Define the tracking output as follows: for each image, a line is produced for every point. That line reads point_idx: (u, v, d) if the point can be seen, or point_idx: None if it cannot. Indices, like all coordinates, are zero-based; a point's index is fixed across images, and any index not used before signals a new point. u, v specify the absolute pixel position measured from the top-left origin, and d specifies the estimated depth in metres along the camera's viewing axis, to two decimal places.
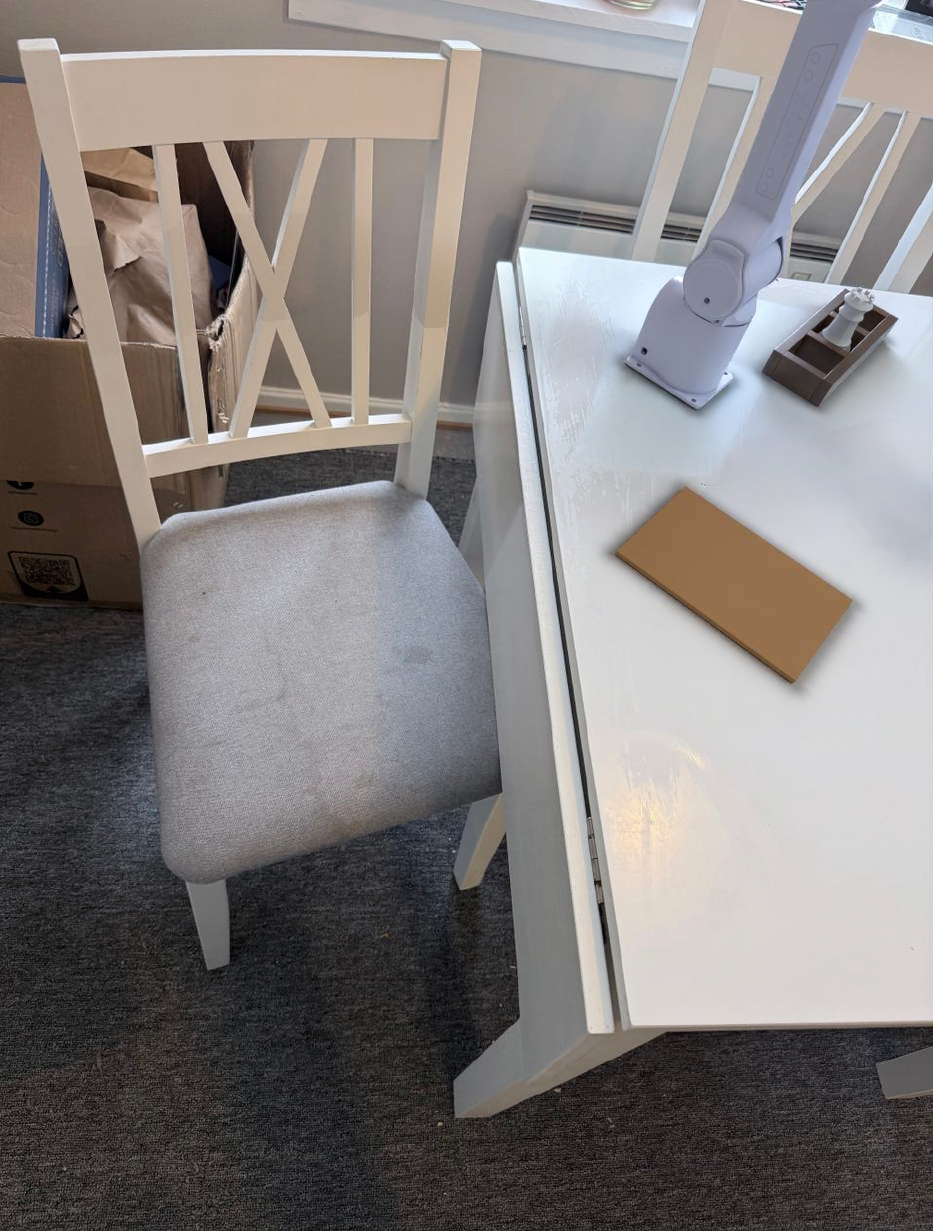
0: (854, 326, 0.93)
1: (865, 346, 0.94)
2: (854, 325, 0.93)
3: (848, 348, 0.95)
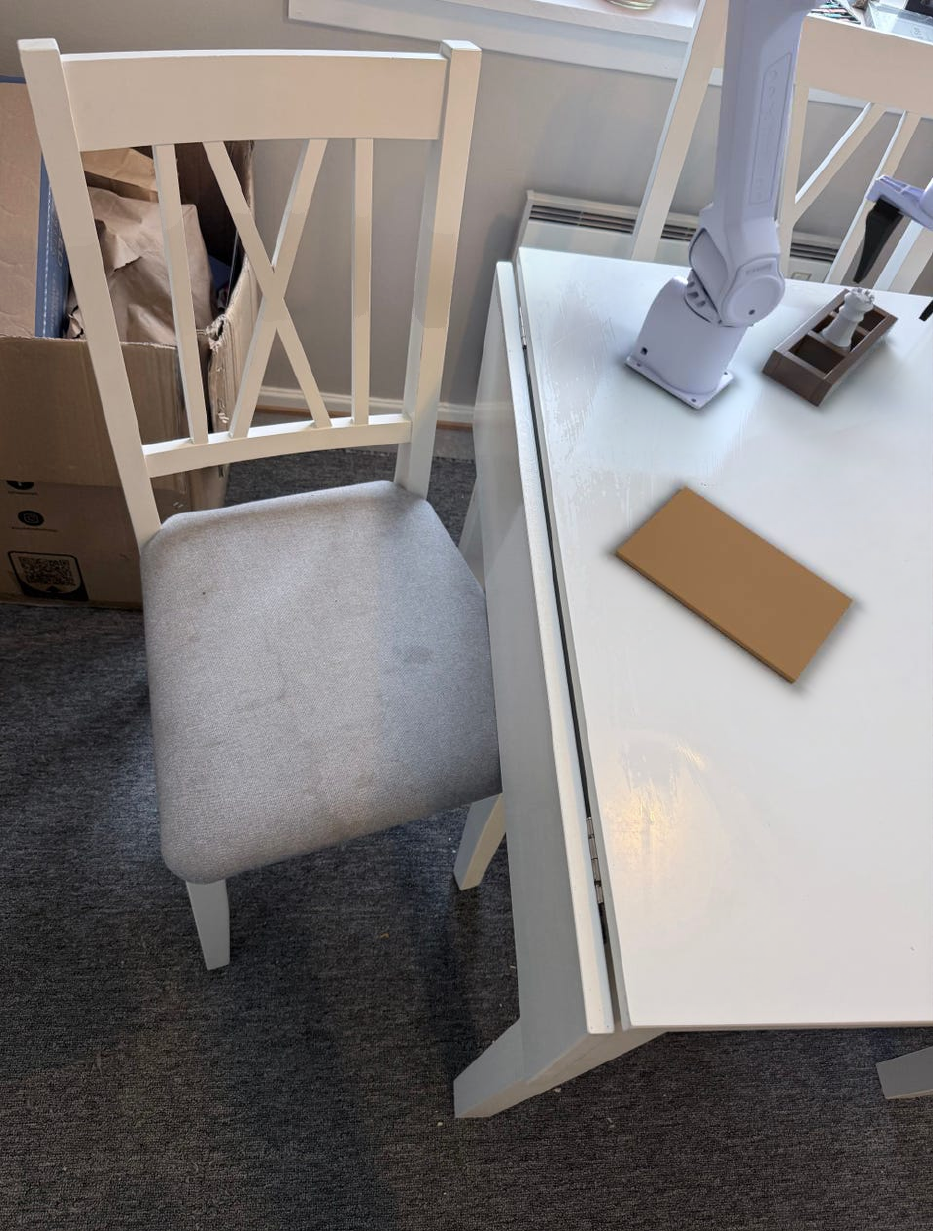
0: (854, 326, 0.93)
1: (865, 346, 0.94)
2: (854, 325, 0.93)
3: (848, 348, 0.95)
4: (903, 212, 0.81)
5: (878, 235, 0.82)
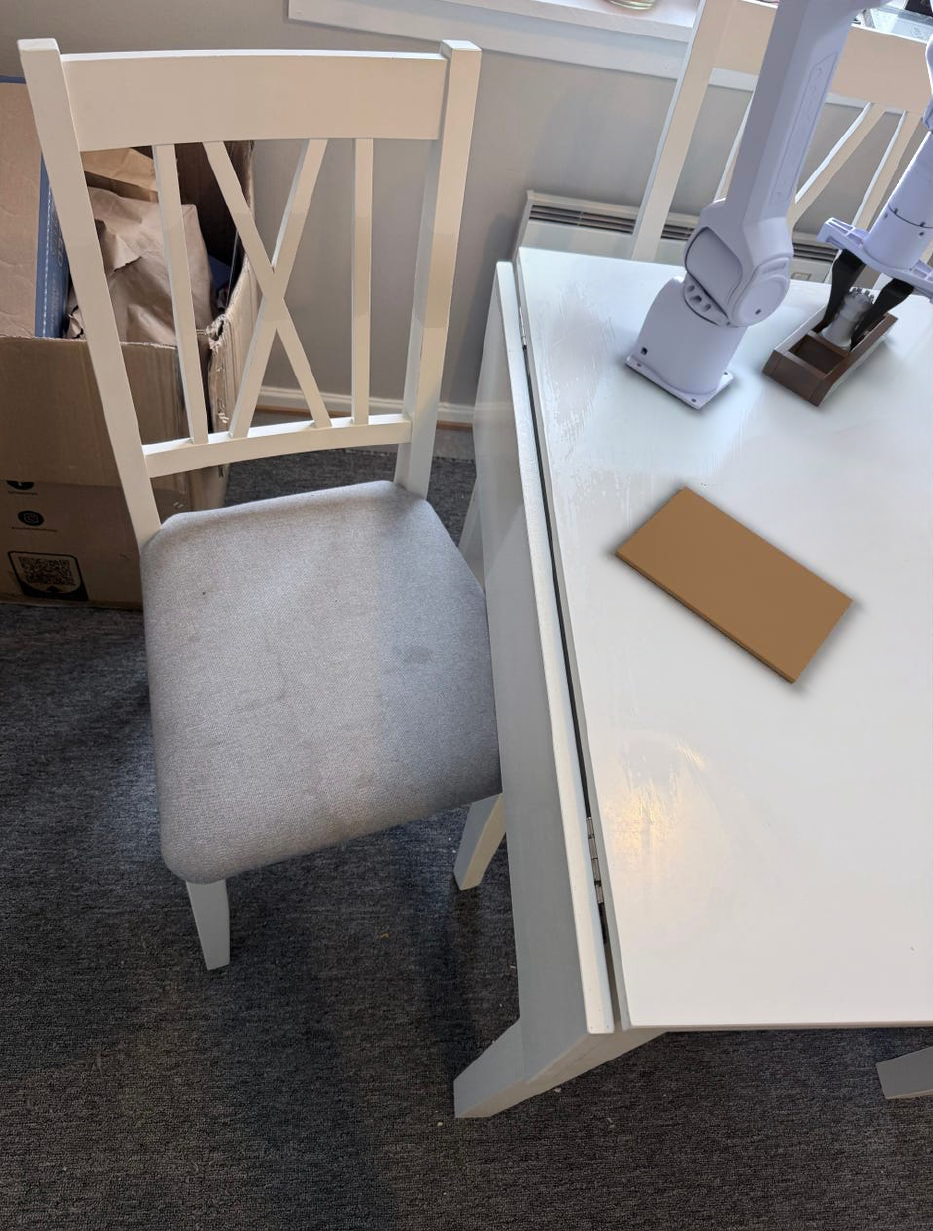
0: (854, 326, 0.93)
1: (865, 346, 0.94)
2: (854, 325, 0.93)
3: (848, 348, 0.95)
4: None
5: (843, 282, 0.89)
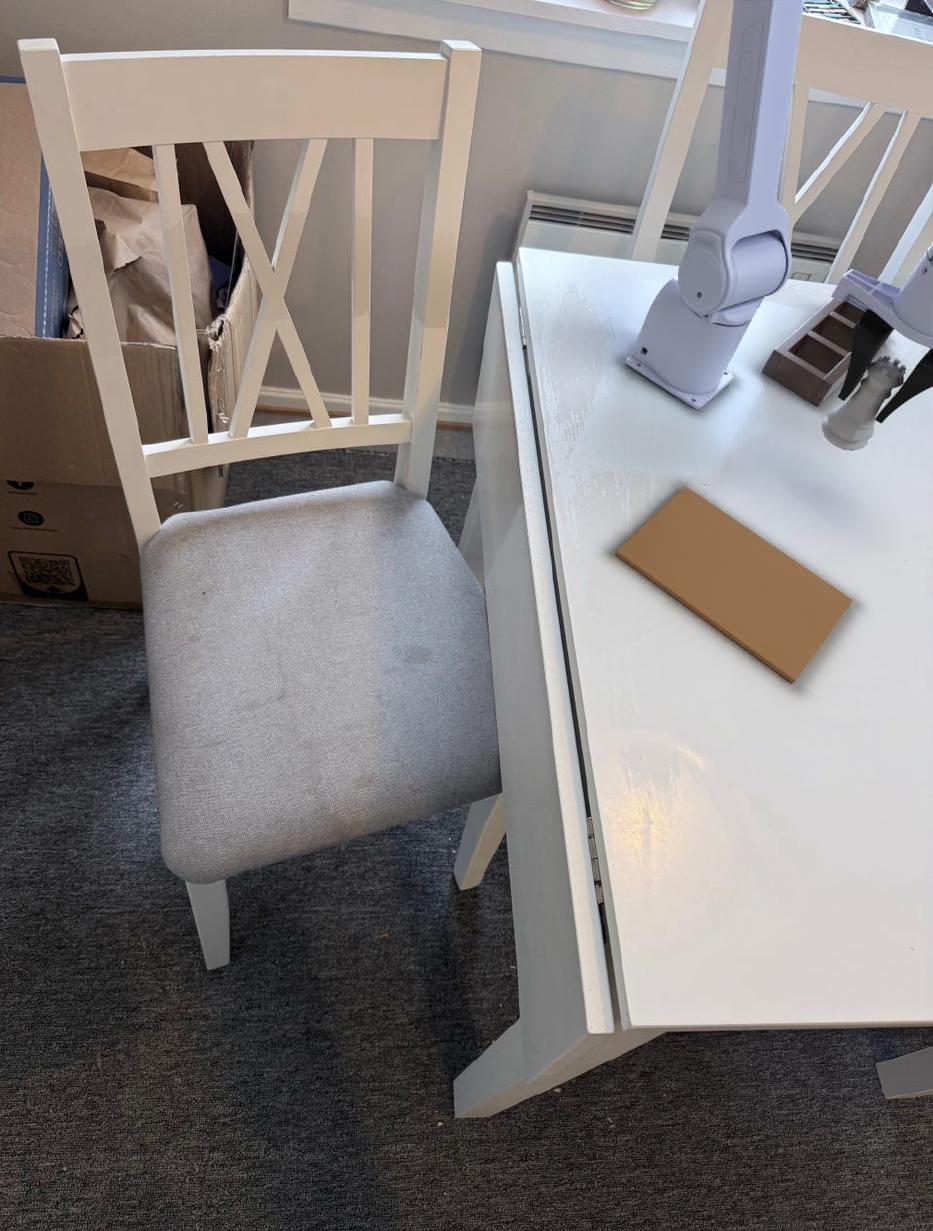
0: (879, 404, 0.73)
1: None
2: (880, 403, 0.73)
3: (871, 429, 0.75)
4: None
5: (867, 352, 0.69)
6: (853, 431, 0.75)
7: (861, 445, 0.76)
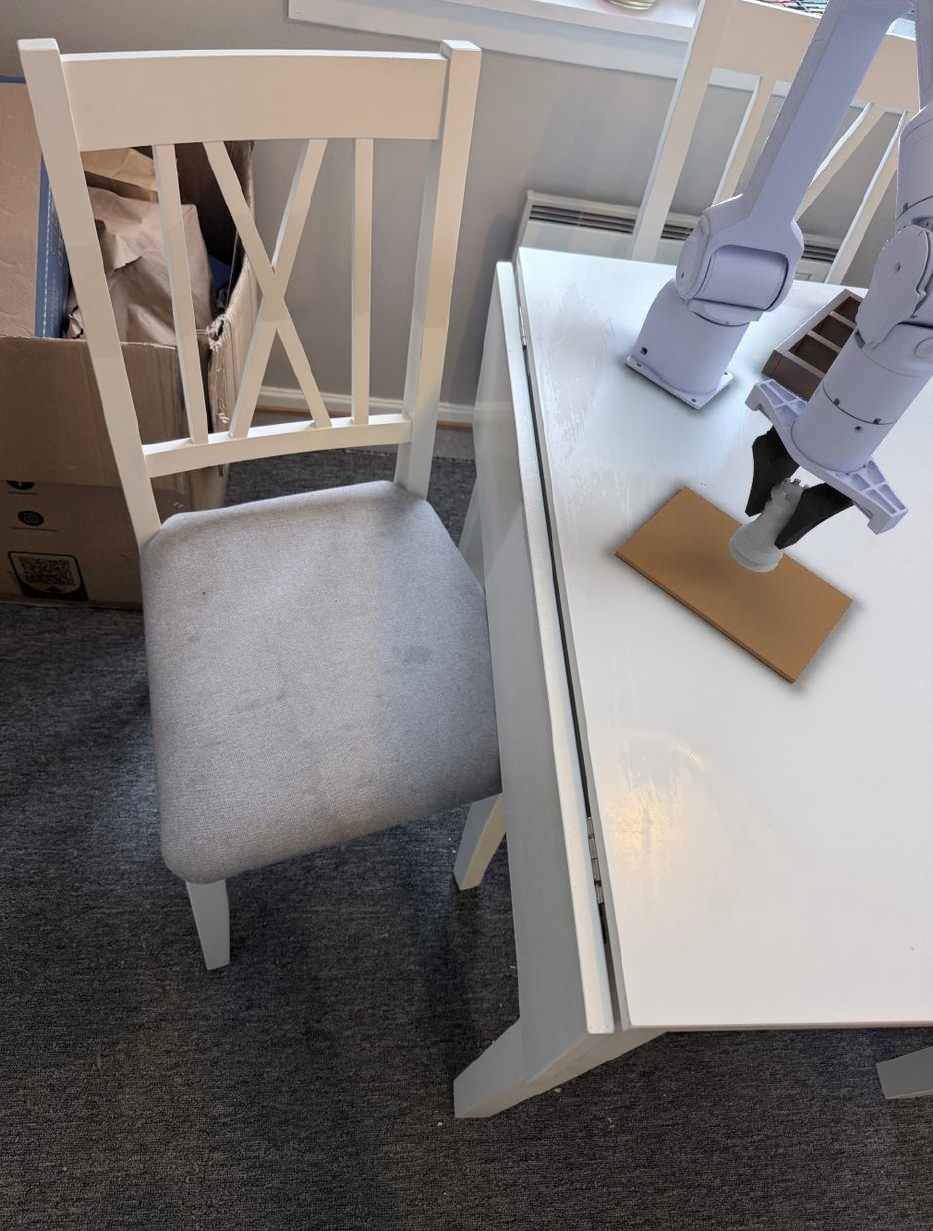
0: (782, 528, 0.67)
1: None
2: (782, 527, 0.67)
3: (776, 555, 0.69)
4: None
5: (765, 468, 0.64)
6: (752, 551, 0.69)
7: (763, 569, 0.69)
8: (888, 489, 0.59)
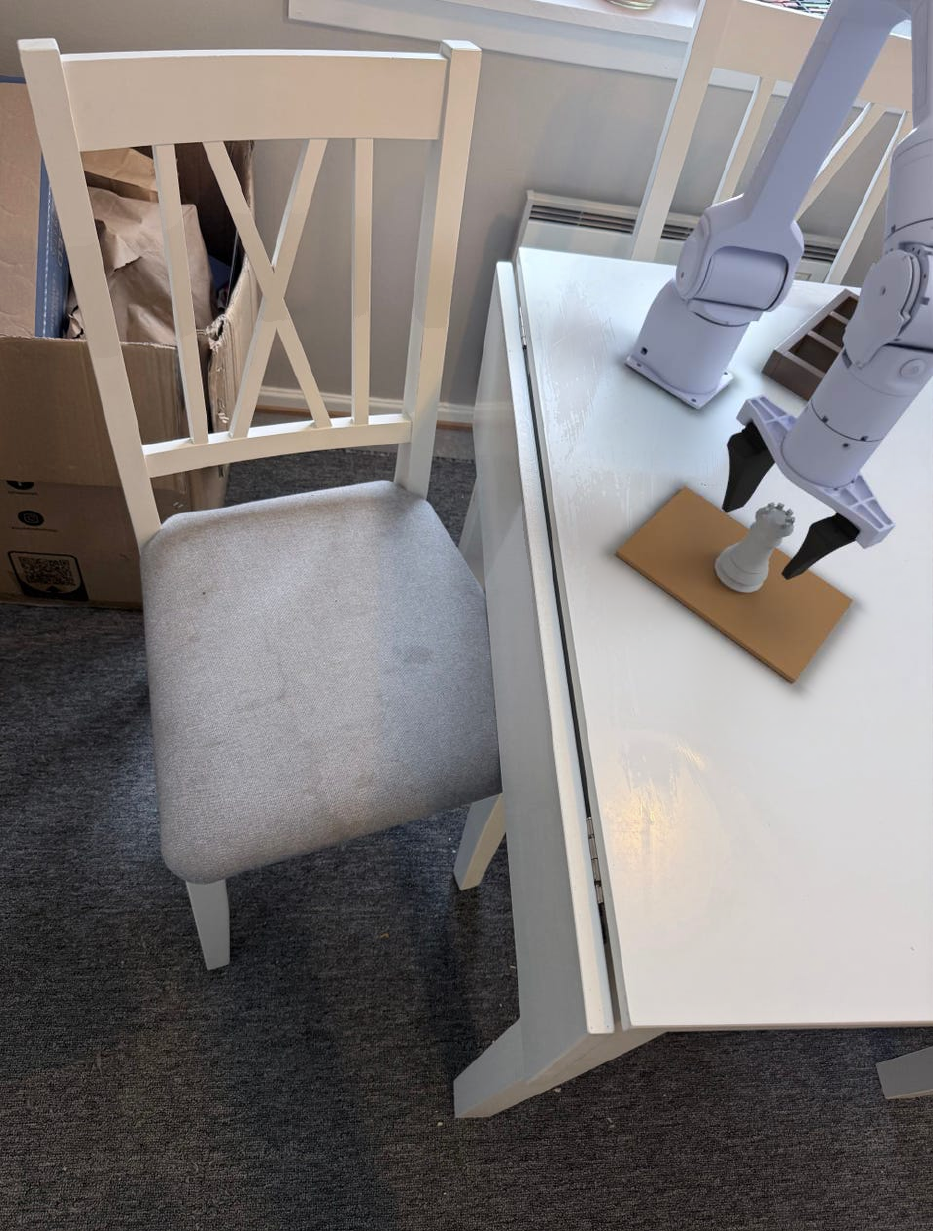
0: (766, 551, 0.69)
1: None
2: (766, 550, 0.69)
3: (761, 576, 0.71)
4: None
5: (739, 465, 0.66)
6: (737, 572, 0.71)
7: (749, 589, 0.72)
8: (876, 504, 0.61)
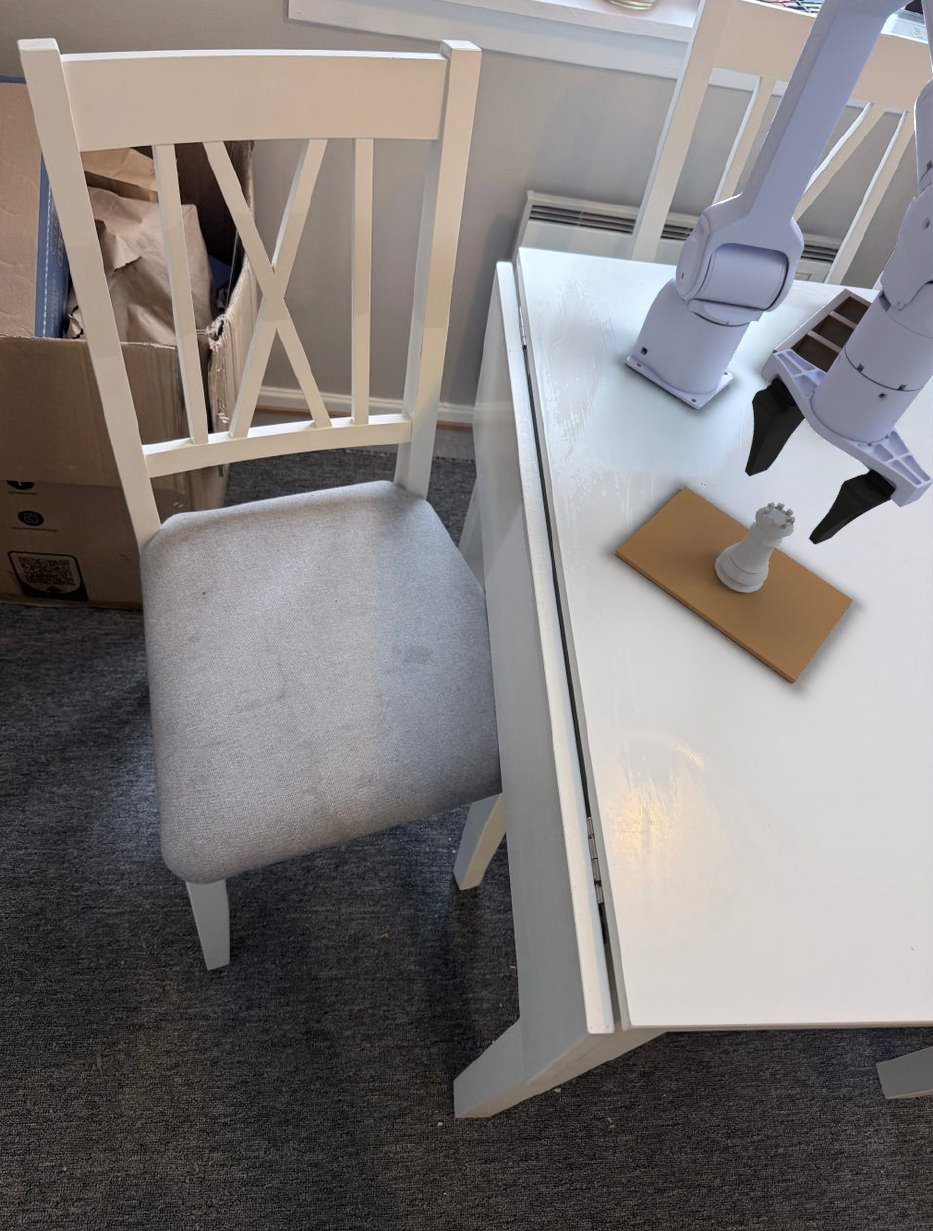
0: (766, 551, 0.69)
1: None
2: (766, 550, 0.69)
3: (761, 576, 0.71)
4: None
5: (765, 423, 0.63)
6: (737, 572, 0.71)
7: (749, 589, 0.72)
8: (912, 460, 0.57)
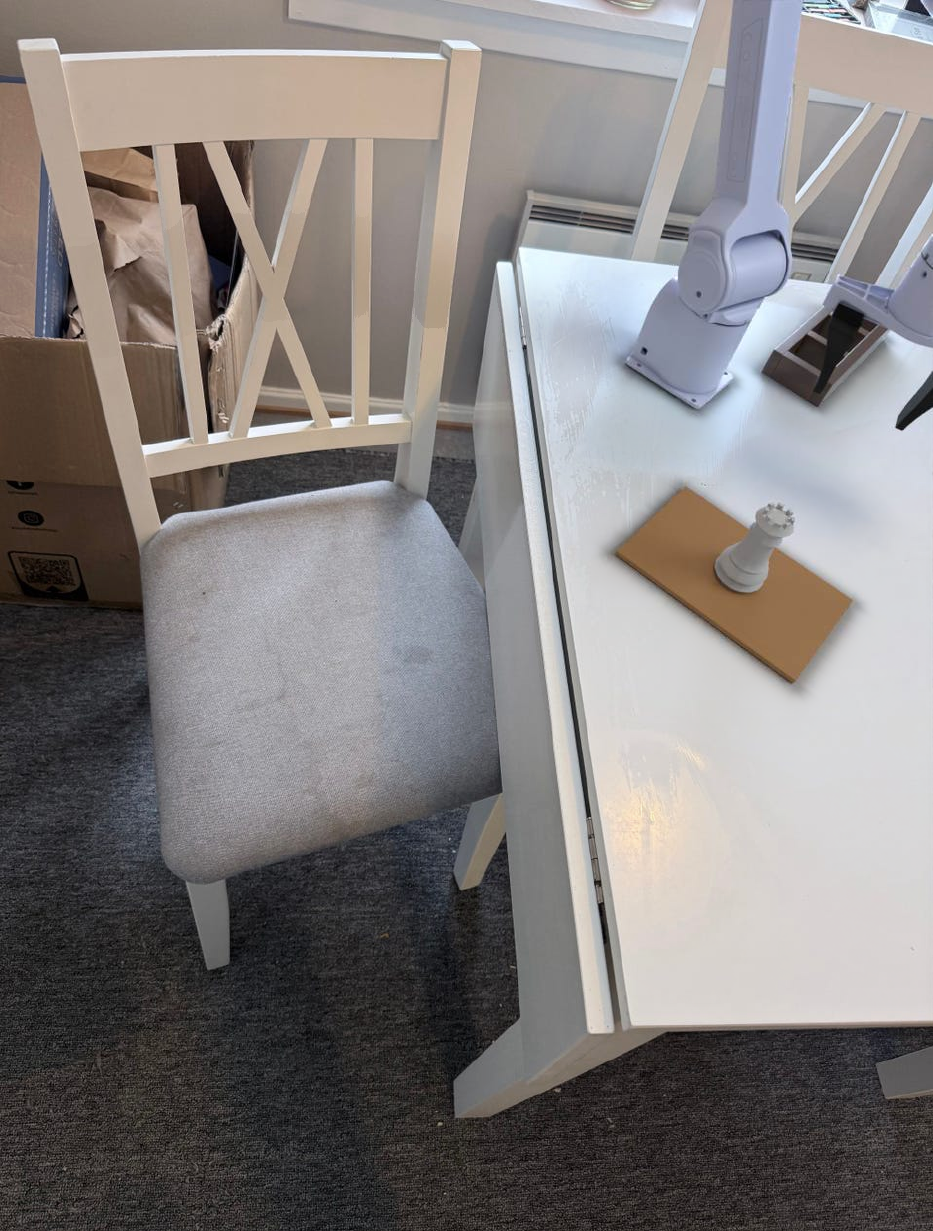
0: (766, 551, 0.69)
1: (865, 346, 0.94)
2: (766, 550, 0.69)
3: (761, 576, 0.71)
4: (868, 317, 0.69)
5: (844, 346, 0.69)
6: (737, 572, 0.71)
7: (749, 589, 0.72)
8: None
